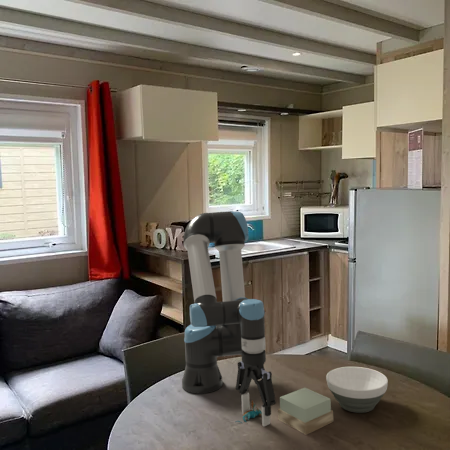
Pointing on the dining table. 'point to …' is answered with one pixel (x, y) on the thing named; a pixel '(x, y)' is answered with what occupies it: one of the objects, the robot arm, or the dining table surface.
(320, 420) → the tower base
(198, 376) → the robot arm
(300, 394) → the tower top
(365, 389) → the bowl
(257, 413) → the dragon figurine
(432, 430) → the dining table surface
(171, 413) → the dining table surface
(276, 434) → the dining table surface
